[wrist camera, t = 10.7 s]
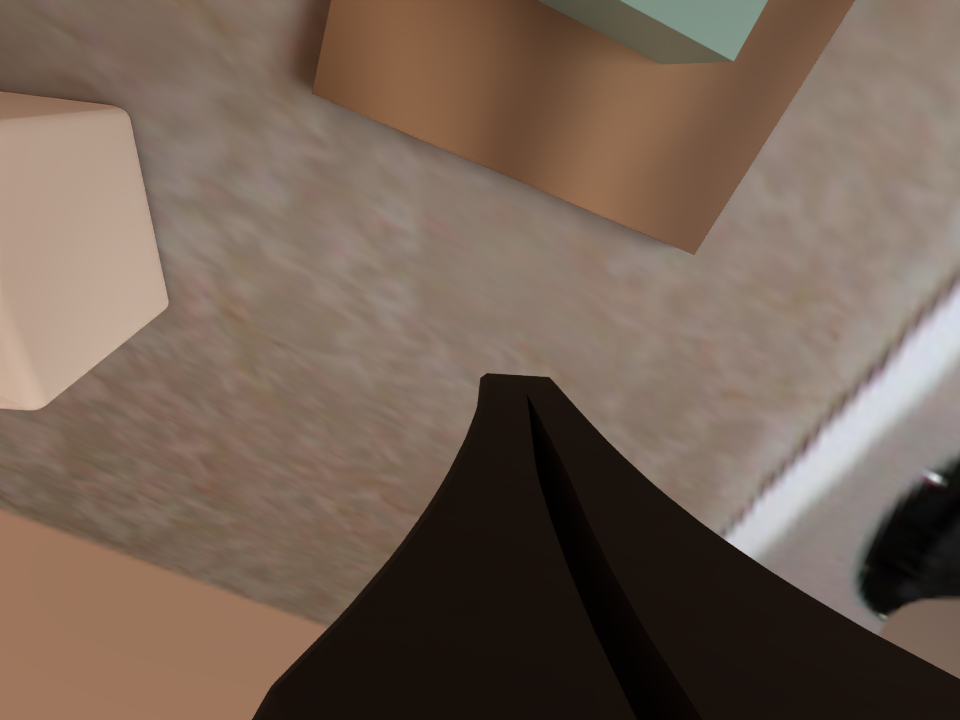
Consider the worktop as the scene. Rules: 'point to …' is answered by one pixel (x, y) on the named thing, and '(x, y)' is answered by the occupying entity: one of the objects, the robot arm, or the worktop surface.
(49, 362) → the medicine bottle
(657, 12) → the sage green cube
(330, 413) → the worktop surface
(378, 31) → the board
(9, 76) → the worktop surface
